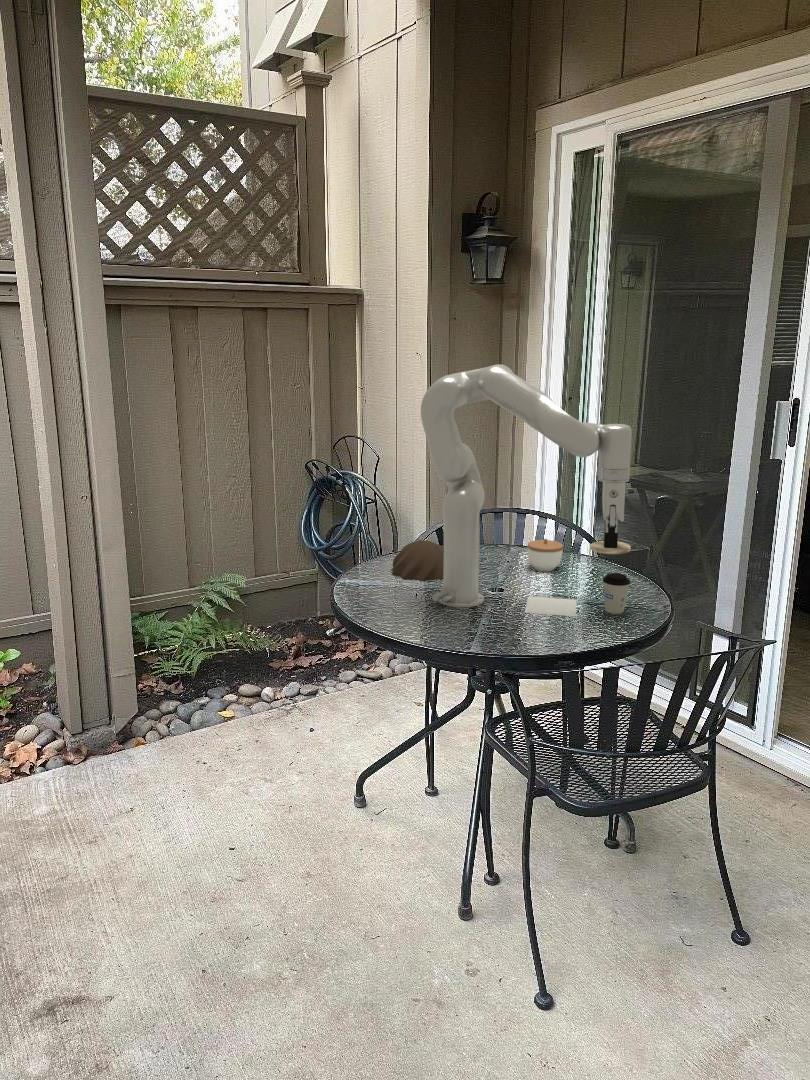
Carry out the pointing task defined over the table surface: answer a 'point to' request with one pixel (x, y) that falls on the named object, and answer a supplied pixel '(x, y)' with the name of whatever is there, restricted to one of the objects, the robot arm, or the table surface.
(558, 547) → the lidded jar
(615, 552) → the lid
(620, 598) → the coffee cup
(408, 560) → the decorative dome
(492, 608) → the table surface
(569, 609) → the mat
